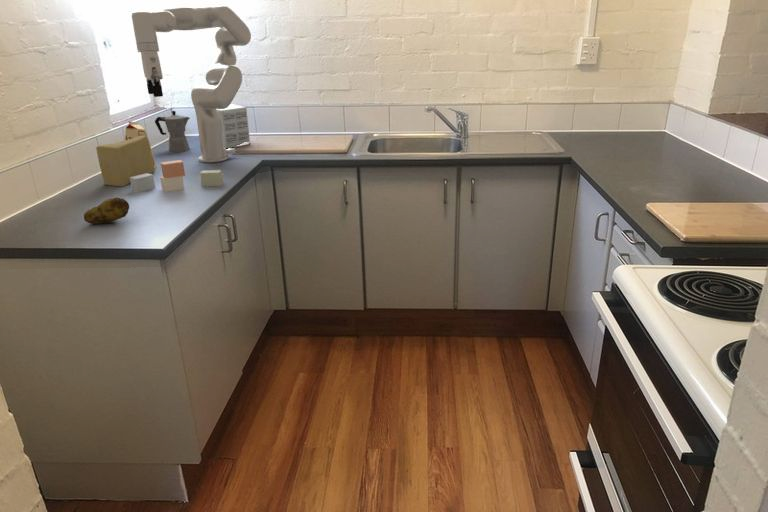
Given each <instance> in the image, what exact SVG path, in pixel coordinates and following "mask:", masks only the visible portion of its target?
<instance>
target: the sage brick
mask: <svg viewBox="0 0 768 512" xmlns="http://www.w3.org/2000/svg"><path fill="white" fill-rule="evenodd" d="M199 174H200V175H199V176H200V182H201V187H216V186H217V187H220V186H222V185H223V183H224V178H223V171H222V169H213V170H212V169H211V170H210V169H209V170H201V171H200V173H199Z"/></svg>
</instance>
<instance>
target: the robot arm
mask: <svg viewBox="0 0 768 512" xmlns="http://www.w3.org/2000/svg"><path fill="white" fill-rule="evenodd" d="M131 19H132V20H131V21H132V26H133V27H132V28H133V32H134V37H135V43H136V49H137V52H138V53H140V55H141V57H140V58H141V62H142V63H141V65H142V69H143V74H144V77H145V79H146V85H147V92H148V95H153V97H154V98H159V97H163V96H164V94H163V87H162V83H161V80H163V78H164V75H163V72H162V67H161V66H162V65H161V61H160V57H159V53H158V52H160V47H159V42H158V41H159V40H158V33H169V32H173V31H195V30H206V29H213V28H215V29H214V39H215V40H214V41H215V43H216V49H217V50H216V54H215V57H214V59H213V61H212V63H211V64H210V65H209V68H208V69H207V71H206V74H205V81H206V83H207V84H206V83H201V84H197V85H195V86H194V87H193V88H192V89H191V93H190V98H191V102H192V106H193V107H194V110H195V111H194V112H195V115H196V122H197V130H198V138H199V145H200V146H199V147H200V152H201V155H200V156H198V161H199V162H201V163H217V162H218V163H220V162H224V161H227V160H228V159H229V154H235V153H236V148H228V149H226V148H224V147H223V139H222V131H221V122H220V116H219V113H218V111H217V109H225V108H227V107H228V106H229V105H230V104H232V102H233V100H234V98H235V97H236V95H237V94H238V91H239V90H240V88H241V85H242V83H243V74H242V71H241V69H240V68H239V67H238V66H237V65H236V63H237V54H236V52H235V50H234V49H235V48H234V46H235V47H237V46H238V47H240V46H241V47H242V46H247V45H248V44H249V43H250V42H251V39H252V32H251V30H250V28H249V26H248V25H247V24H246V23H245V22H244V21H243V20H242V19H241V17H240V16H239V15H238V14H237V13H236V12H235V11H234V10H232V8H230V7H229V6H227V5H224V4H223V5H222V4H221V5H219V4H215V5H212V4H211V5H197V6H196V5H195V6H183V7H174V8H166V9H154V10H153V9H152V10H139V11H133V12H132V14H131Z"/></svg>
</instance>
